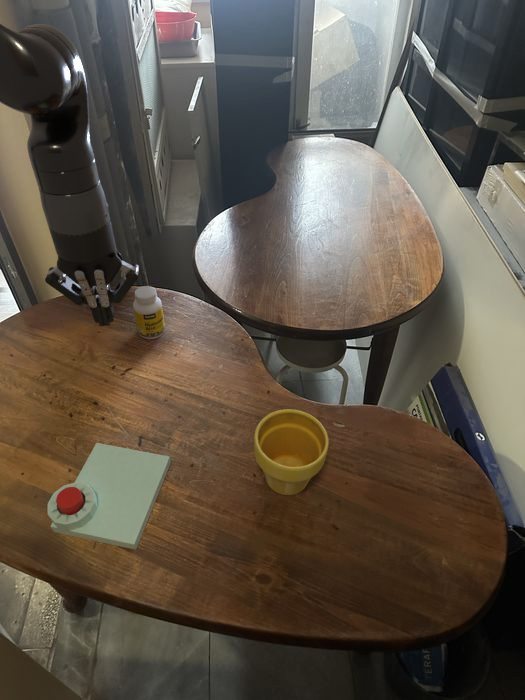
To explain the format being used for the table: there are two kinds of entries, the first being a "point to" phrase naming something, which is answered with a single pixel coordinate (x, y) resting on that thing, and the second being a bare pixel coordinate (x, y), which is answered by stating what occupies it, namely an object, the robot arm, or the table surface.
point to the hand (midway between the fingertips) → (106, 322)
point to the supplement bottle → (148, 313)
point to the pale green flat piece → (113, 496)
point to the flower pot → (290, 449)
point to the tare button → (70, 500)
